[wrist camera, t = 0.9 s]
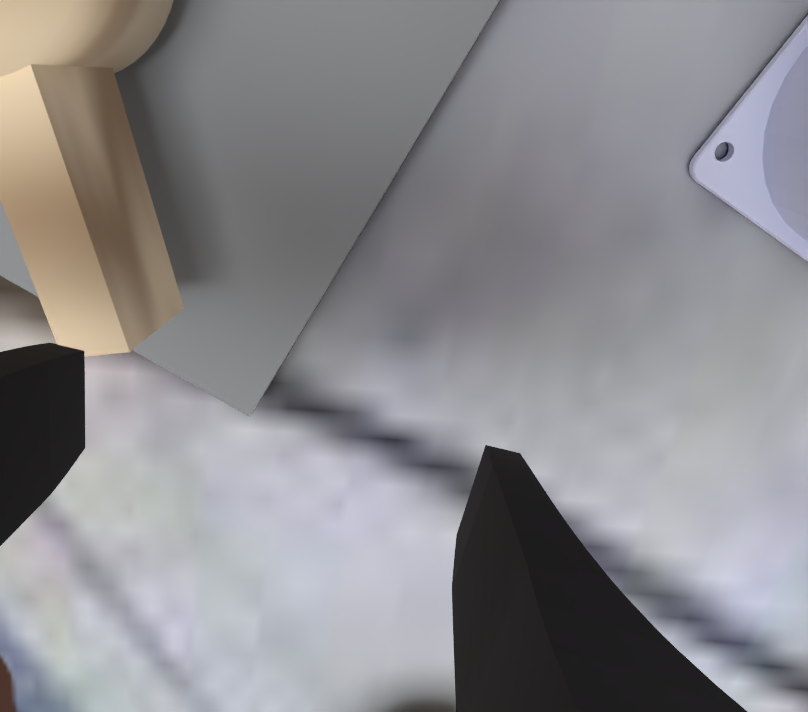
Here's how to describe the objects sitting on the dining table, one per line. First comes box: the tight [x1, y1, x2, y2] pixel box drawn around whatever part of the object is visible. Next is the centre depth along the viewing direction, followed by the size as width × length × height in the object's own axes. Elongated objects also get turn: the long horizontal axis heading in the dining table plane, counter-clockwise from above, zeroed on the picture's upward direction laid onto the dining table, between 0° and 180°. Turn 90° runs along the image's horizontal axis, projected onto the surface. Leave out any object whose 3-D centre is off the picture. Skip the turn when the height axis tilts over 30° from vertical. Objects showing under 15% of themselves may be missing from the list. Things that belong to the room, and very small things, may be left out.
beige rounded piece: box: [0, 0, 184, 357], centre depth 14 cm, size 13×6×4 cm, turn 8°
